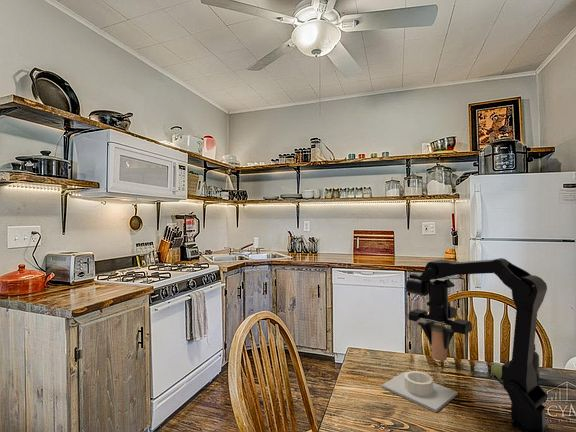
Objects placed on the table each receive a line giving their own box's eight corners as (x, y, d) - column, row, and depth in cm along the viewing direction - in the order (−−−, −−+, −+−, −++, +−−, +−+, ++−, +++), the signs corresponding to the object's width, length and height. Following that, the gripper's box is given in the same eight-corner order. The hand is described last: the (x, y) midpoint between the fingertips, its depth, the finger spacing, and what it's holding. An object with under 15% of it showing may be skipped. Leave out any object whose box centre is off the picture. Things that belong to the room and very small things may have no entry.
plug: (449, 358, 105) (448, 327, 105) (442, 361, 102) (442, 330, 102) (436, 353, 108) (435, 323, 108) (429, 357, 106) (428, 326, 106)
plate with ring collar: (457, 394, 101) (457, 380, 101) (436, 412, 92) (435, 397, 92) (404, 373, 115) (404, 361, 115) (381, 387, 106) (381, 374, 106)
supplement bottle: (544, 384, 106) (543, 347, 106) (520, 382, 107) (520, 346, 107) (532, 374, 113) (532, 339, 113) (511, 372, 114) (510, 338, 114)
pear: (501, 369, 105) (485, 361, 115) (503, 387, 104) (487, 377, 114) (519, 369, 105) (501, 361, 114) (522, 387, 104) (503, 377, 114)
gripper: (479, 300, 103) (480, 349, 103) (424, 290, 118) (424, 333, 118) (463, 306, 96) (464, 359, 96) (407, 295, 111) (407, 340, 111)
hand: (438, 346), depth 105 cm, fingers closed on plug, 4 cm apart
